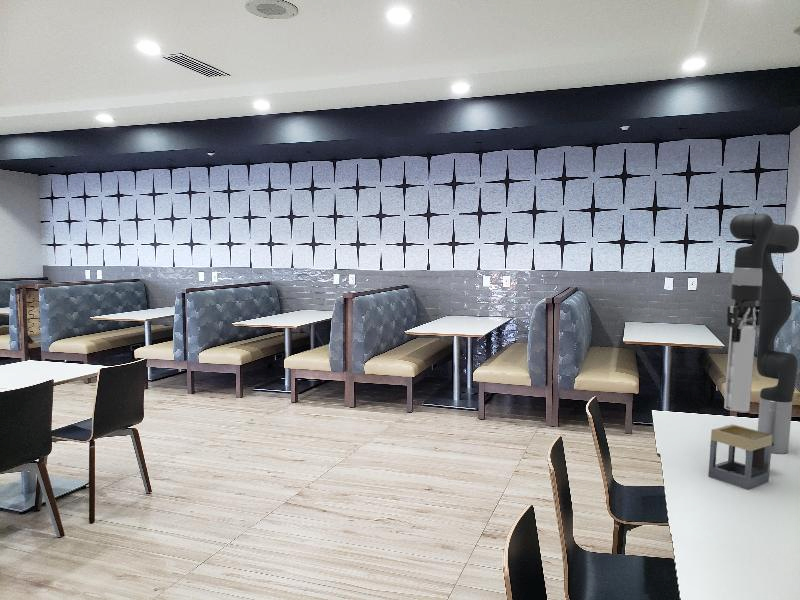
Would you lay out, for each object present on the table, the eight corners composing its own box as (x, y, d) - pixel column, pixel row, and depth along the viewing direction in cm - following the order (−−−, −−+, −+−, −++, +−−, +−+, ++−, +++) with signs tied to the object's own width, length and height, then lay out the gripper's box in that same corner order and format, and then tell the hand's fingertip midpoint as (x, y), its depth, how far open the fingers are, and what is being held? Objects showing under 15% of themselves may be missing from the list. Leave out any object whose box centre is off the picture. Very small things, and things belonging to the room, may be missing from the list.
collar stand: (729, 469, 186) (732, 424, 185) (768, 481, 177) (772, 434, 175) (708, 476, 180) (711, 429, 179) (747, 489, 170) (751, 440, 169)
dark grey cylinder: (775, 470, 186) (777, 438, 185) (768, 477, 180) (771, 444, 179) (745, 463, 192) (747, 432, 191) (738, 470, 186) (740, 437, 185)
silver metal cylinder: (752, 412, 176) (759, 326, 174) (727, 410, 177) (734, 325, 175) (744, 407, 182) (751, 323, 180) (721, 405, 183) (727, 322, 181)
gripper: (747, 283, 184) (742, 338, 185) (719, 282, 176) (715, 340, 177) (773, 284, 177) (768, 341, 179) (746, 284, 170) (741, 344, 171)
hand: (742, 340), depth 178 cm, fingers closed on silver metal cylinder, 6 cm apart
